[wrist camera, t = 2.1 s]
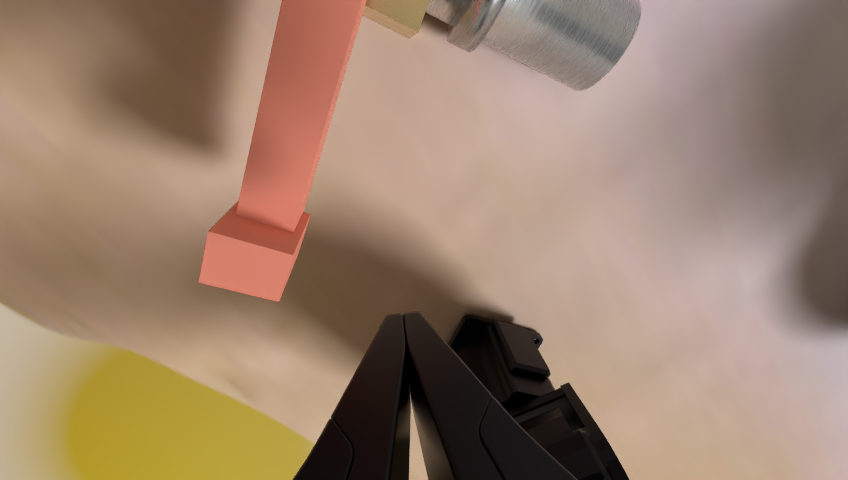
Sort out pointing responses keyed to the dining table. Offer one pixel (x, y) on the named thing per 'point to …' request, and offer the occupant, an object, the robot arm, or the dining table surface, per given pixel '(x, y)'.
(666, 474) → the dining table surface
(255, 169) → the lever
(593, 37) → the valve
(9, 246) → the dining table surface
